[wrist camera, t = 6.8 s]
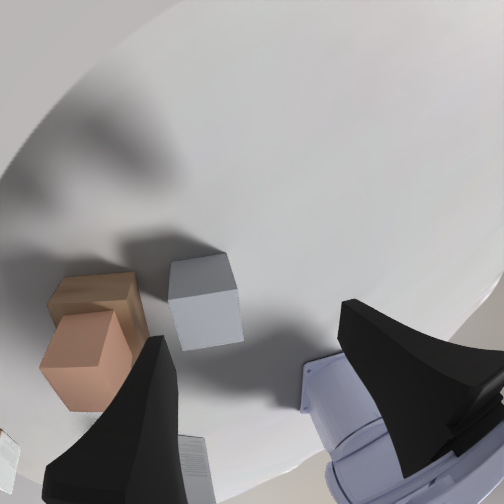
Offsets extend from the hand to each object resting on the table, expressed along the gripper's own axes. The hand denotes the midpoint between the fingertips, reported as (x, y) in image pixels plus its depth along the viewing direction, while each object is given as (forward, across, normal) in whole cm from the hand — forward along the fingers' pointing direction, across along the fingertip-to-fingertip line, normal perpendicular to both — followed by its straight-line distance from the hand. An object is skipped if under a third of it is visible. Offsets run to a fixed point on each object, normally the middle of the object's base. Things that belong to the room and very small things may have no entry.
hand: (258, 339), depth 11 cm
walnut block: (+11, +10, +4) cm, 15 cm away
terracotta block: (+7, +10, +4) cm, 13 cm away
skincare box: (+11, +9, +27) cm, 30 cm away
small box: (+11, +44, +28) cm, 53 cm away
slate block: (+10, +2, +3) cm, 11 cm away
